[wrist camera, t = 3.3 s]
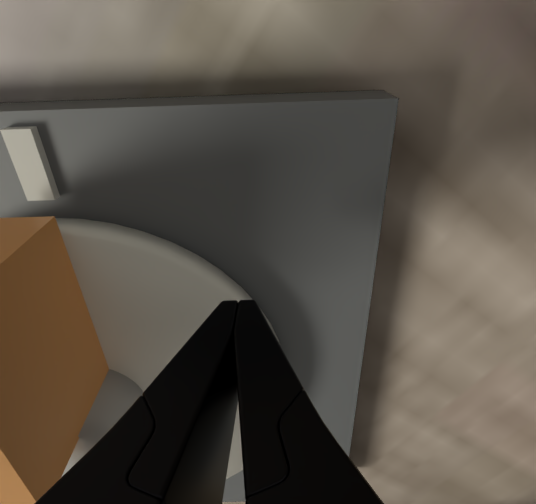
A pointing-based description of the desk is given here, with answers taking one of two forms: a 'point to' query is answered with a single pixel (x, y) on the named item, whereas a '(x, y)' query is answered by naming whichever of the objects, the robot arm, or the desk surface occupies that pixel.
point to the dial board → (232, 204)
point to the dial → (88, 337)
